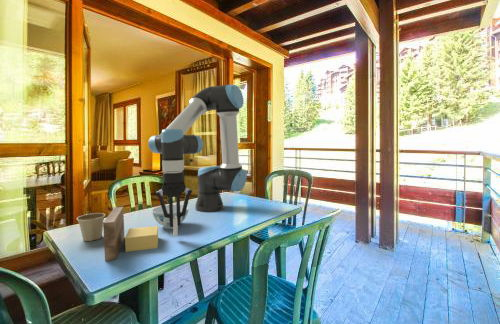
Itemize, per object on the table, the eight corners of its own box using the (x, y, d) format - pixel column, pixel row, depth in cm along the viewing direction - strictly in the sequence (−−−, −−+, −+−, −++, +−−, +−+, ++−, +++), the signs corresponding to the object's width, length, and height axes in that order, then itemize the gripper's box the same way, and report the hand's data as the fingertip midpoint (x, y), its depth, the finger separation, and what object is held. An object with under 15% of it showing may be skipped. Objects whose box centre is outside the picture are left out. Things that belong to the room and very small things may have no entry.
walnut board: (124, 237, 101) (123, 206, 100) (115, 259, 82) (114, 221, 81) (115, 238, 100) (114, 207, 99) (105, 260, 81) (103, 222, 80)
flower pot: (75, 244, 94) (73, 221, 93) (80, 236, 102) (79, 214, 101) (105, 240, 97) (104, 218, 97) (107, 232, 106) (106, 211, 105)
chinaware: (185, 231, 107) (185, 213, 106) (148, 232, 106) (147, 214, 105) (191, 220, 122) (190, 204, 121) (158, 221, 121) (157, 205, 120)
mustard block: (158, 238, 100) (157, 225, 100) (157, 248, 91) (156, 234, 90) (129, 241, 97) (129, 228, 97) (125, 252, 88) (125, 238, 87)
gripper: (190, 169, 101) (192, 229, 103) (154, 171, 96) (157, 233, 98) (192, 172, 93) (194, 236, 95) (154, 173, 89) (156, 240, 91)
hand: (175, 234), depth 97 cm, fingers closed
